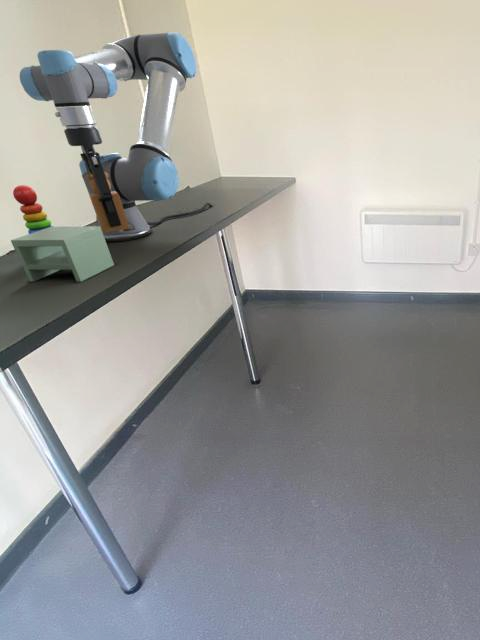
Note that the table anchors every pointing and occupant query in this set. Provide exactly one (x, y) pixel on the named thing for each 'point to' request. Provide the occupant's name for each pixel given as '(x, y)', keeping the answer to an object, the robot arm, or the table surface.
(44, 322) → the table surface
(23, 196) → the stacking toy
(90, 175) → the plush bear
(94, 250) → the pale green square stand
